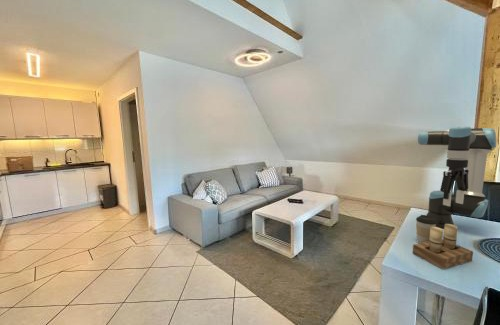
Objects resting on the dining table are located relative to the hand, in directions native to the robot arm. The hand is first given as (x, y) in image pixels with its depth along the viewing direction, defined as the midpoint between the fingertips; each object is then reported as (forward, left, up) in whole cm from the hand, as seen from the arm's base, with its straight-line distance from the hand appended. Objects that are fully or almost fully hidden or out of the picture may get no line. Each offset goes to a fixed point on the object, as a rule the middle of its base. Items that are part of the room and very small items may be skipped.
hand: (452, 204), depth 105 cm
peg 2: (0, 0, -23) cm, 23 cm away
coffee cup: (-3, -14, -28) cm, 31 cm away
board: (+5, 0, -27) cm, 28 cm away
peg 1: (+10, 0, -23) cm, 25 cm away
